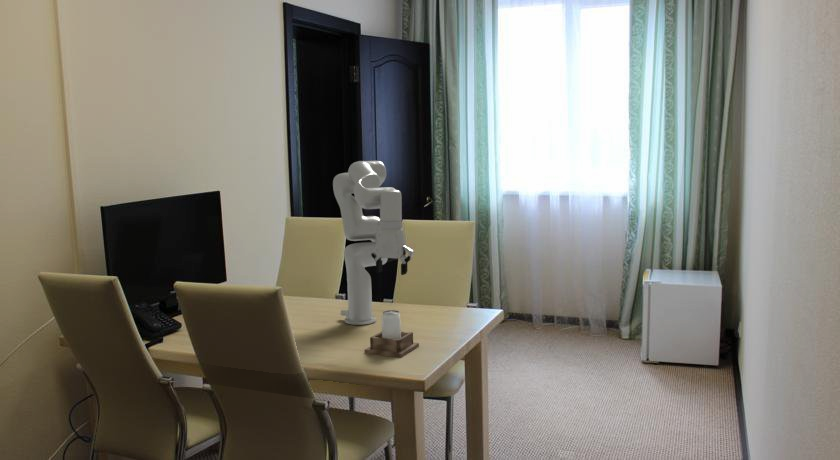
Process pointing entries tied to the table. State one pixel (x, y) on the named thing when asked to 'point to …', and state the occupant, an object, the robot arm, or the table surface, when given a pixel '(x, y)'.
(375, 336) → the holder
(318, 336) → the table surface
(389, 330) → the can
